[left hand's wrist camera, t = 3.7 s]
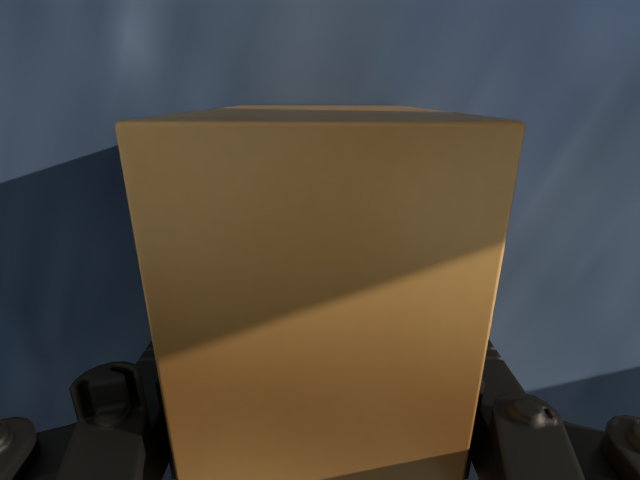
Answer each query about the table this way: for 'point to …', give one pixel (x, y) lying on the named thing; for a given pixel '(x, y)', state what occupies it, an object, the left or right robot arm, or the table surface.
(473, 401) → the plank
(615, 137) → the table surface
